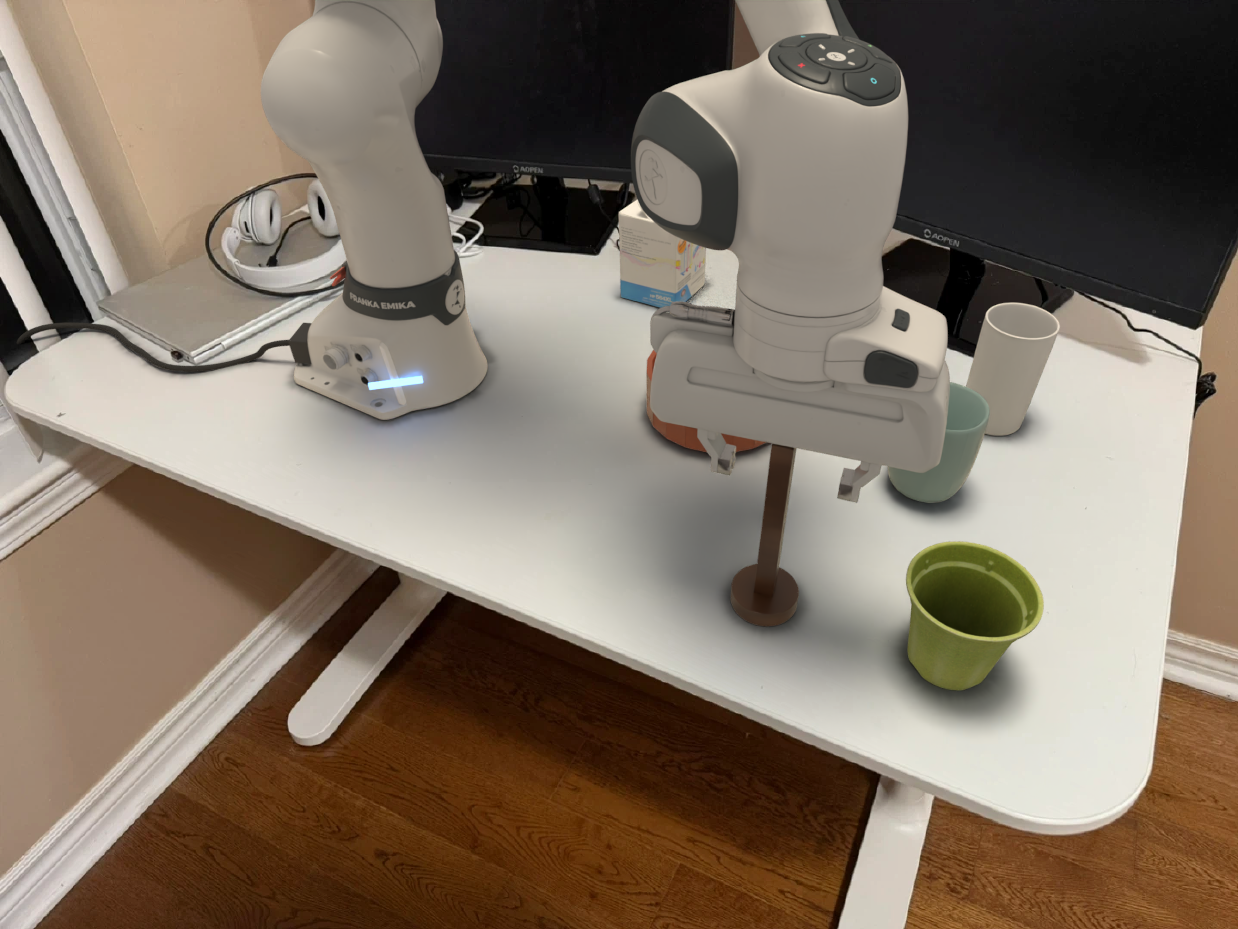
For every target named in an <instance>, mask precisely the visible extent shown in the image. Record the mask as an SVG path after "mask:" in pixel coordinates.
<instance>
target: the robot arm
mask: <svg viewBox="0 0 1238 929" xmlns="http://www.w3.org/2000/svg"><path fill="white" fill-rule="evenodd" d="M734 1H735V3H736V6H737V8H738V10H739V12H740V14H741V17H742V19H743V21H744V24H745V26H746V28H747V31H748V32H749V35H750V37H751V39H752V42H753V43H754V46H755V48H756V50H757V52H758V55H759V57H758V58H756V59H754V60H752V61H751V62H749V63H746V64H744V65H742V66H740V67H737V68H734V69H730V70H728V69H727V70H722V71H718V72H715V73H711V74H707V75H702V76H699V77H696V78H692V79H689V80H686V81H683V82H679V83H677V84H674V85H672V86H670V87H668V88H665V89H664V90H662V91H658V92H656V93H654V94H653V95H651V97H650V98H649V99H648V100H647V101H646V103H645V105H644V106H643V107H642V109H641V111H640V113H639V116H638V118H637V120H636V122H635V125H634V130H633V133H632V138H631V145H630V146H631V147H630V170H631V171H630V172H631V180H632V186H633V190H634V193H635V196H636V200H637V199H638V202H639V204H640V206H641V208H642V210H643V211H644V212H645V214H646V215H647V216H648V217H650V218H651V219H652V220H653V221H654V222H655V223H656V224H657V225H658V226H660V227H661V228H662V229H664V230H665V231H667V232H669V233H670V234H672V235H674V236H676V237H678V238H680V239H683V240H685V241H688V242H690V243H693V244H695V245H698V246H701V247H704V248H706V249H708V250H712V251H725V250H727V251H730V252H731V253H733V254H734V255H735V257H736V258H737V261H738V270H737V274H736V286H735V304H734V305H735V306H734V309H733V308H728V307H721V306H713V305H712V306H711V305H710V306H709V305H706V306H705V305H698V304H693V303H691V302H687V301H686V302H682V301H676V302H672V303H671V306H664V307H661V308H660V307H658V308H657V309H656V310H655V311H654V313H652V315H651V317H650V322H649V329H650V330H649V333H650V334H649V336H650V337H649V338H650V346H651V347H652V350H653V349H654V351H655V352H656V353H657V355H656V359H655V364H654V368H653V374H652V381H651V391H650V408H651V410H652V411H653V412H654V414H655V415H656V416H657V418H658V419H659V420H660V421H663V422H667V423H672V424H677V425H682V426H687V427H692V428H697V429H698V430H697V437H698V439H699V440H700V442H701V443H702V445H703V446H704V448H705V449H706V451H707V452H708V453H707V452H706V453H707V454H708V456H709V457H711V458H710V472H711V473H716V474H720V475H725V476H728V477H729V476H731V475H732V471H733V470H734V468H735V464H736V458H737V457H736V453H737V452H736V446H734V445H730V444H726V442H725V440H724V438H723V436H722V434H727V435H732V436H737V437H742V438H748V439H753V440H758V441H763V442H766V443H768V444H772V443H773V444H778V445H783V446H788V447H793V448H797V449H798V450H803V451H809V452H813V453H819V454H823V455H828V456H832V457H833V456H834V457H838V458H844V459H849V460H854V461H858V462H860V464H859V465H858V466H857V467H856V468H855V469H854V468H849V467H843V469H842V474H841V477H840V481H839V486H838V492H837V496H836V499H839V500H842V501H847V502H852V503H856V504H857V503H858V502H859V497H860V494H861V493H860V492H861V490H862V489H861V488H864V487H865V486H866V485H868V484H869V483H870V482H871V481H873V480H874V479H876V477H878V476H879V475H880V474H881V470H882V467H883V466H884V467H887V468H888V467H893V468H898V469H903V470H908V471H913V472H918V473H924V472H927V471H929V470H930V469H932V468H934V467H935V466H937V465H938V464H939V463H940V459H941V454H942V449H943V443H944V437H945V431H946V424H947V415H948V405H949V393H950V382H951V376H950V375H951V374H950V368H949V366H948V364H947V360H945V359H946V355H947V349H948V342H949V341H948V340H949V339H948V338H949V337H948V336H949V334H948V333H949V332H948V330H949V329H948V322H947V321H948V320H947V318H946V316H945V315H943V313H941V312H939V311H938V310H936V309H934V308H931V307H929V306H927V305H924V304H922V303H920V302H917V301H915V300H914V299H911V298H909V297H907V296H904V295H902V294H901V293H898V292H896V291H894V290H892V289H890V288H888V287H886V286H884V278H885V277H884V270H883V261H882V259H883V258H882V256H883V251H884V246H885V243H886V242H887V239H888V237H889V235H890V233H891V232H892V230H893V228H894V225H895V222H896V217H897V214H898V208H899V201H900V198H901V197H900V196H901V190H902V185H903V180H904V179H903V178H904V172H905V165H906V156H907V149H908V148H907V147H908V132H909V104H908V94H907V88H906V82H905V78H904V76H903V72H902V70H901V68H900V67H899V65H898V63H896V61H895V60H893V59H892V58H891V57H890V56H889V55H887V54H886V53H885V52H884V51H882V50H881V49H880V48H879V47H877V46H875V45H873V44H871V43H869V42H866V41H864V40H861V39H860V38H859V37H858V35H857V33H856V32H855V30H854V29H853V27H852V26H851V23H850V22H849V19H848V18H847V16H846V14H845V12H844V10H843V8H842V6H841V4H840V1H839V0H734ZM313 9H314V10H313V12H312V16H310V17H308V18H307V19H306V20H305V21H303V22H302V23H300V24H299V25H297V26H296V27H294V28H293V29H291V30H290V31H289V32H287V33H286V34H285V36H284V37H283V38H282V39H281V40H280V42H279V43H278V45H277V47H276V49H275V50H274V52H273V54H272V55H271V58H270V60H269V62H268V63H267V66H266V68H265V70H264V72H263V75H262V77H261V82H260V101H261V106H262V109H263V112H264V115H265V117H266V119H267V122H268V124H269V126H270V127H271V128H270V129H272V131H273V132H274V134H275V136H276V137H277V138H278V139H279V140H280V141H281V142H282V143H283V145H285V147H287V148H288V149H289V150H290V151H291V152H293V154H296V155H297V156H298V157H300V158H302V159H304V160H306V161H307V162H308V164H309V165H310V167H311V169H312V170H313V172H314V173H315V174H314V175H316V177H317V179H318V181H319V182H320V184H321V186H322V188H323V191H324V192H325V194H326V197H327V200H328V202H329V204H330V206H331V209H332V212H333V215H334V219H335V223H336V226H337V229H338V233H339V237H340V240H341V244H342V248H343V251H344V255H345V259H346V260H345V261H344V262H343V263H342V264H341V268H339V269H338V270H337V271H336V272H334V273H333V274H332V275H331V276H330V277H329V280H333V279H334V280H333V281H332V282H331V286H332V287H336V286H337V285H338V284H339V283H341V282H342V281H343V288H342V293H340V294H339V295H338V296H337V297H336V298H334V299H333V300H332V301H331V302H330V303H329V304H328V305H327V306H326V307H325V308H323V309H322V310H321V311H320V312H319V313H318V314H317V315H316V316H315V318H314V319H313V321H312V322H302V323H301V325H300V326H299V327H298V328H297V329H296V331H294V333H293V334H292V335H291V336H290V338H289V339H280V340H274V341H270V342H267V343H265V344H262V345H261V346H260V347H259V349H257V351H256V352H254V353H251V354H249V355H246V356H245V355H244V356H242V357H239V358H236V359H231V360H227V361H223V362H218V363H211V364H202V365H200V364H199V365H181V364H172V363H168V362H167V363H166V362H164V361H161V360H159V359H157V358H156V357H154V356H153V355H151V354H150V353H149V352H148V351H146V350H145V349H143V348H142V347H140V346H138V345H137V344H135V343H133V342H132V341H130V340H129V339H128V338H127V337H126V336H125V335H123V333H122V332H120V331H119V330H118V329H116V328H114V327H113V326H111V325H110V326H109V325H106V324H100V323H90V322H54V323H47V324H41V325H38V326H34V327H32V328H30V329H28V330H27V331H25V332H24V333H23V334H21V335H20V336H19V337H18V339H17V340H16V344H17V345H21V344H24V343H25V342H26V341H27V340H28V339H30V338H31V337H32V336H34V335H36V334H39V333H41V332H45V331H50V330H59V329H86V330H98V331H104V332H107V333H110V334H112V335H114V336H115V338H117V339H118V340H119V341H120V342H121V343H122V344H123V345H124V346H126V347H127V348H128V349H130V350H132V351H133V352H135V353H137V354H138V355H140V356H141V357H143V358H144V360H146V361H148V362H149V363H150V364H152V365H154V366H155V367H158V368H160V369H163V370H167V371H172V372H186V373H187V372H189V373H191V372H193V373H194V372H195V373H196V372H197V373H198V372H208V371H215V370H220V369H226V368H228V367H229V368H230V367H232V366H233V367H234V366H238V365H242V364H246V363H250V362H251V361H256V360H258V359H260V358H261V357H263V356H264V354H265V353H266V352H267V351H268V350H271V349H275V348H279V347H289V348H290V352H291V354H292V357H293V360H294V363H295V364H296V365H295V368H294V370H293V379H294V383H295V384H296V385H298V386H301V387H303V388H306V389H308V390H310V391H313V392H315V393H318V394H320V395H322V396H325V397H327V398H329V399H331V400H334V401H336V402H339V403H341V404H343V405H345V406H348V407H350V408H352V409H354V410H358V411H360V412H362V413H365V414H366V415H369V416H371V417H374V418H376V419H377V420H378V419H379V420H382V421H386V420H387V421H388V420H393V419H396V418H398V417H401V416H403V415H405V414H408V413H410V412H414V411H419V410H424V409H430V408H431V409H432V408H437V407H440V406H443V405H446V404H450V403H453V402H455V401H457V400H459V399H461V398H463V397H465V396H466V395H468V394H469V393H471V392H472V391H474V390H475V389H476V388H477V387H478V386H479V385H480V384H481V383H482V382H483V380H484V379H485V378H486V374H487V372H488V360H487V357H486V355H485V354H484V352H483V350H482V347H481V345H480V343H479V342H478V339H477V337H476V334H475V332H474V329H473V326H472V323H471V320H470V317H469V313H468V311H467V306H466V288H465V282H464V276H463V270H462V265H461V260H460V255H459V253H458V252H457V251H456V250H455V249H454V248H455V247H454V241H453V235H452V231H451V224H450V219H449V213H448V206H447V201H446V200H447V199H446V195H445V189H444V187H443V183H442V182H441V181H440V179H439V178H438V177H437V176H436V175H435V174H434V173H433V172H431V170H430V168H429V166H428V163H427V161H426V159H425V156H424V154H423V151H422V148H421V146H420V144H419V141H418V137H417V133H416V126H415V116H416V115H415V114H416V109H417V107H418V106H419V104H421V102H422V101H423V100H424V98H425V97H426V96H427V95H428V94H429V92H430V91H431V90H432V89H433V87H434V85H435V82H436V80H437V77H438V75H439V72H440V71H439V70H440V67H441V63H442V59H443V58H442V56H443V51H444V50H443V49H444V39H443V32H442V29H441V25H440V23H439V20H438V18H437V10H436V0H314V8H313ZM721 433H722V434H721Z"/></svg>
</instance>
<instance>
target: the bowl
mask: <svg viewBox="0 0 1238 929" xmlns="http://www.w3.org/2000/svg"><path fill="white" fill-rule="evenodd" d="M656 355H657V353H656V352H655V351H654V349H653V348H652V351H651V353H650V354H649V356H648V357H647V358H646V372H645V373H646V374H645V375H646V377H645V378H646V382H645V383H646V415H647V417H648V419H649V421H650V423H651V425H652V427H653V428H654V429H655V430H656V431H657V432H658V433H660V434H661V436H663V437H664V438H665V439H666V440H669V441H671V442H673V443H675V444H677V445H679V446H681V447H683V448H686V449H689V450H693V451H699V452H703V453H707V454H708V452H707V451H706V449H705V448H704V446H703V445H702V443H701V442H700V440H699V439H698V437H697V430H698V429H697V428H692V427H687V426H682V425H677V424H672V423H667V422H663V421H660V420H659V419H658V418H657V416H656V415H655V414H654V412H653V411H652V410H651V408H650V391H651V381H652V374H653V368H654V364H655V359H656ZM721 434H722V433H721ZM722 436H723V438H724V440H725V442H726V444H730V445H734V446H736V453H739V452H744V451H748V450H749V451H750V450H753V449H756V448H758V447H760V446H762V445H764V444H766V443H767V442H763V441H758V440H753V439H748V438H742V437H737V436H732V435H727V434H722Z"/></svg>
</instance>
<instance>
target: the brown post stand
mask: <svg viewBox="0 0 1238 929" xmlns="http://www.w3.org/2000/svg"><path fill="white" fill-rule="evenodd" d="M797 449H798V448H793V447H788V446H783V445H778V444H773V443H771V446H770V452H769V454H770V455H769V460H768V470H767V479H766V486H765V496H764V504H763V510H762V512H763V513H762V520H761V521H762V522H761V529H760V537H759V543H758V544H759V546H758V553H757V554H758V555H757V561H756V563H754V564H750V565H747V566H745V567H743V568H741V569H740V570H739V571H737V572H736V573H735V575H734V577H733V579H732V581H731V585H730V586H731V587H730V588H731V589H730V597H729V598H730V604H731V606H732V609H733V610H734V612H735V613H736V615H738V617H740V618H741V619H742V620H743V621H746V622H747V623H748V624H751V625H755V626H759V627H775V626H780V625H782V624H784V623H786V622H787V621H789V620H790V619H791V618H792V617H794V615H795V613H796V611H797V609H798V608H797V607H798V602H799V596H800V589H799V585H798V582H797V580H796V579H795V578H794V577H793V576H792V574H791V573H789V571H787V570H786V569H784V568H781V567H780V564H781V557H782V552H783V551H782V550H783V544H784V536H785V529H786V523H787V516H788V508H789V502H790V495H791V489H792V482H793V476H794V475H793V474H794V468H795V462H796V454H797Z"/></svg>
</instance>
